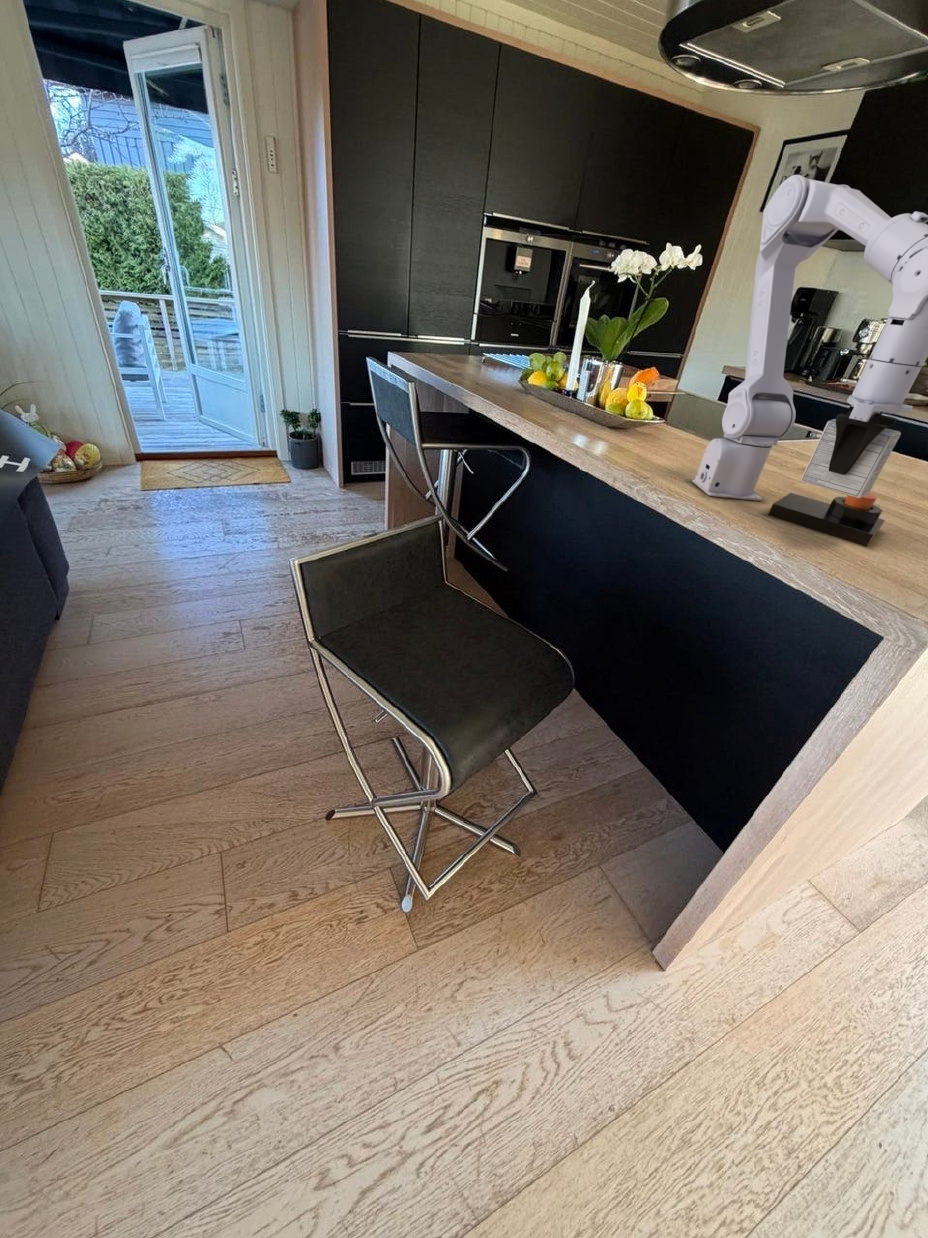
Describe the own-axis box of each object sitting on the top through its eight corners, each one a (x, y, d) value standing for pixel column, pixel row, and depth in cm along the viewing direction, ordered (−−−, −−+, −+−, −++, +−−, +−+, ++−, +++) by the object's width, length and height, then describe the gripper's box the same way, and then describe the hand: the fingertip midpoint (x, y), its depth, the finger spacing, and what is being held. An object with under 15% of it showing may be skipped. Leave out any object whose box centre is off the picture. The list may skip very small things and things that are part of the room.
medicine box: (868, 495, 73) (903, 431, 68) (858, 500, 70) (894, 434, 66) (809, 478, 78) (838, 417, 73) (798, 481, 75) (828, 419, 70)
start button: (867, 513, 78) (874, 500, 77) (840, 505, 80) (847, 492, 79) (871, 508, 80) (878, 495, 79) (845, 501, 82) (852, 488, 81)
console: (866, 547, 76) (880, 521, 74) (767, 515, 84) (778, 491, 81) (878, 531, 82) (892, 507, 80) (785, 503, 90) (795, 480, 88)
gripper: (926, 369, 58) (863, 487, 66) (939, 366, 68) (882, 469, 75) (855, 359, 62) (804, 471, 70) (876, 357, 71) (829, 456, 79)
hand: (841, 469), depth 73 cm, fingers closed on medicine box, 5 cm apart
